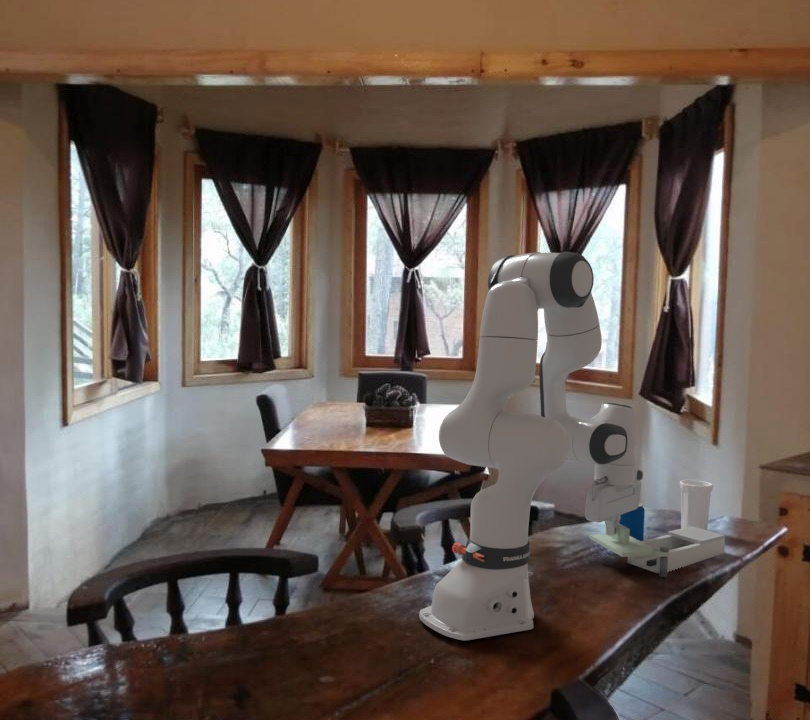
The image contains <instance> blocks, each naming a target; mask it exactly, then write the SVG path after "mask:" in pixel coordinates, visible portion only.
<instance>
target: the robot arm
mask: <svg viewBox="0 0 810 720" xmlns="http://www.w3.org/2000/svg"><path fill="white" fill-rule="evenodd" d="M592 268H593V267H592V265H591V264H590V263H589V261H588V260H587V258H586V257H585V256H584V255H582V254H580V253H577V252H573V251H572V252H571V251H562V252H538V251H536V252H535V251H533V252H528V253H521V254H517V255H514V254H513V255H512V254H510V255H507V256H504V257H503V258H500V259H498V260H496V261H495V263H494V264H493V265H492V266H491V269H490V271H489V274H488V278H487V287H488V292H487V294H486V298H485V300H484V305H483V310H482V313H481V314H482V316H481V321H480V329H479V342H478V351H477V352H478V353H477V354H478V355H477V362H476V363H477V364H476V370H475V375H474V379H473V381H472V385H471V388H470V389H469V391H468V393H467V395H466V397H464V399H463V400H462V402H460V404H459V405H458V406H456V407H455V408H454V409H453V410H452V411H450V412H448V413H447V415H446V416H445V417H444V419H443V420H442V422H441V424H440V426H439V431H438V440H439V445H440V448H441V450H442V452H443V455H445V456H446V457H447V458H450V459H452V460H453V461H454V460H455V461H457V462H459V463H462V464H466V465H469V466H475V467H482V468H491V469H496V470H497V471H498V477H497V480H496V483H495V484H492V485H490V486H487V487H485V488H482V489H480V491H478V492H477V493H476V494H475V496H473V499H472V500H471V502H470V520H469V521H470V523H469V524H470V527H469V528H470V529H469V531H470V532H469V537H468V538H467V541H466V543H465V545H464V544H461V543H460V542H454V543H453V545H452V546H451V551H452V552H453V553H454V554H457V555H459V556H461V560H460V561H459V562H457V564H456V565H455V566H453V568H452V569H451V570H450V571H449V572H448V573H447V574H445V576H444V577H442V579H440V581H439V582H437V584H436V585H435V587H434V590H433V595H432V598H431V599H432V600H431V605H430V606H427V607H424V608H422V609H420V610H419V613H418V616H419V620H420V621H421V622H422V623H423V624H424V625H426V627H429V628H430V629H432V630H433V631H435V632H436V633H438V634H441V635H443V636H445V637H449V638H451V639H455V640H460V641H471V640H477V639H483V638H490V637H494V636H501V635H506V634H511V633H517V632H524V631H529V630H532V629H534V620H533V619H534V617H535V612H534V608H533V605H532V603H533V602H532V599H531V589H530V578H529V572H528V571H529V570H528V569H529V567H528V566H529V565H528V563H529V562H530V561H531V559H530V558H531V557H530V556H531V542H530V541H529V523H530V512H531V506H532V502H533V498H534V496H535V493H536V492H537V489H538V488H539V487H540V485H541V483H543V482H544V480H546V479H547V478H548V477H549V476H551V475H552V474H553V473H555V472H557V471H558V470H559V469H560V468H561V467H562V465H563V464H564V463H565V461H566V460H568V461H574V462H580V463H587V464H590V465H591V464H592V465H594V477H593V478H594V479H593V480H594V481H593V483H592V484H591V486H590V487H589V488H588V490H587V494H586V500H585V501H586V502H585V509H584V510H585V511H584V516H585V519H586V520H587V521H590V522H593V523H602V522H604V524H605V533H607V535H611V536H613V535H615V534H617V525H618V524H619V521H620V515H622V514H625V513H627V512H630V511H633V510H636V509H637V508H638V506H639V503H641V502H640V501H641V493H642V483H641V482H642V480H643V479H644V470H642V469H640V468H638V467H636V465H637V463H636V460H637V459H636V457H635V453H636V452H635V451H636V447H637V444H638V420H637V419H638V418H637V413H636V410H635V409H634V408H633V407H631V406H629V405H626V404H619V403H614V402H604V403H601V406H600V409H599V412H598V413H597V414H595V415H594V416H592V417H590V418H583V417H576V416H573V415H571V414H570V413H569V412H568V410H567V402H566V400H567V398H566V394H567V393H566V379H567V377H568V375H569V374H571V373H573V372H576V371H578V370H581V369H583V368H585V367H587V366H588V365H590V364H591V363H593V362H594V361H595V360H596V359H597V357H598V356H599V354H600V351H601V350H602V343H603V341H602V340H603V339H602V331H601V326H600V320H599V314H598V311H597V306H596V303H595V299H594V296H593V293H592V290H593V288H594V281H595V280H594V278H595V277H594V272H593V269H592ZM540 309H542V310H543V319H544V326H545V333H546V339H547V341H546V349H545V351H544V352H543V353H542V355H541V356H540V360H539V361H540V362H539V372H538V373H539V397H540V398H539V401H540V402H539V403H540V415H538V414H532V413H531V414H530V413H521V412H520V413H519V412H511V411H507V410H506V409H507V406H508V402H509V400H510V399H511V397H512V396H513V395H516V394H517V393H520V392H522V391H524V390H526V389H527V388H529V387H530V386H531V385H532V383H533V382H534V380H535V378H536V371H537V356H538V341H539V315H538V314H539V313H538V311H539V310H540ZM606 527H607V528H606Z"/></svg>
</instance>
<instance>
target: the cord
mask: <svg viewBox="0 0 810 720" xmlns="http://www.w3.org/2000/svg"><path fill="white" fill-rule="evenodd" d="M646 565H647V566H654V565H657V558H656V559H652V560H648V561H647V563H646Z"/></svg>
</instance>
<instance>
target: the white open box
mask: <svg viewBox="0 0 810 720" xmlns="http://www.w3.org/2000/svg"><path fill="white" fill-rule="evenodd" d="M641 542H643V543H645V544H647V545H649V546H651V547H653V548H655V549H660V547H666V548H669V556H663V557H658V556H656V555H643V556H629V557H627V563H628V564H630V565H633V566H635V567H639V568H642V569H643V570H647V571H650V572H652V573H655V574H658V573H659V574H658V576H659V577H660V578H663V577H666V578H668V573H669V571H670V572H672V570H673V571H675V569H676V570H679V569H681V567H682V568H684V567H687V566H690V565H693V564H696V563H699V562H702V561H705V560H707V559H708V560H709V559H711V558H714V557H717V556H720V555H723V554H725V546H726V545H725V543H726V534H722V533H718V532H714V531H711V530H708V529H707V530H704V529H700V528H697V527H693V526H690V527H686V528H681V527H680V528H679V529H674V530H673V529H672V530H669V531H667V534H666V535H661V536H657V537H652V538H648V539H643V541H641ZM656 558H657V565H654V566H647V565H646V563H647V561H648V560H652V559H656ZM678 568H679V569H678Z"/></svg>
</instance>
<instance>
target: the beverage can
mask: <svg viewBox="0 0 810 720" xmlns="http://www.w3.org/2000/svg"><path fill="white" fill-rule="evenodd" d="M645 511H646V510H645V508H644V504H643V503H641V502H640V503H639V506H638V508H637V509H636V510H633V511H630V512H627V513H625V514H622V515H620V521H619V524H621V525H623V526H625V527H627V528H629V529H630V534H629V536H631V537H633V538H635V539H637V540H639V541H644V540H645V539H644V538H645V537H644V536H645V535H644V532H645Z"/></svg>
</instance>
